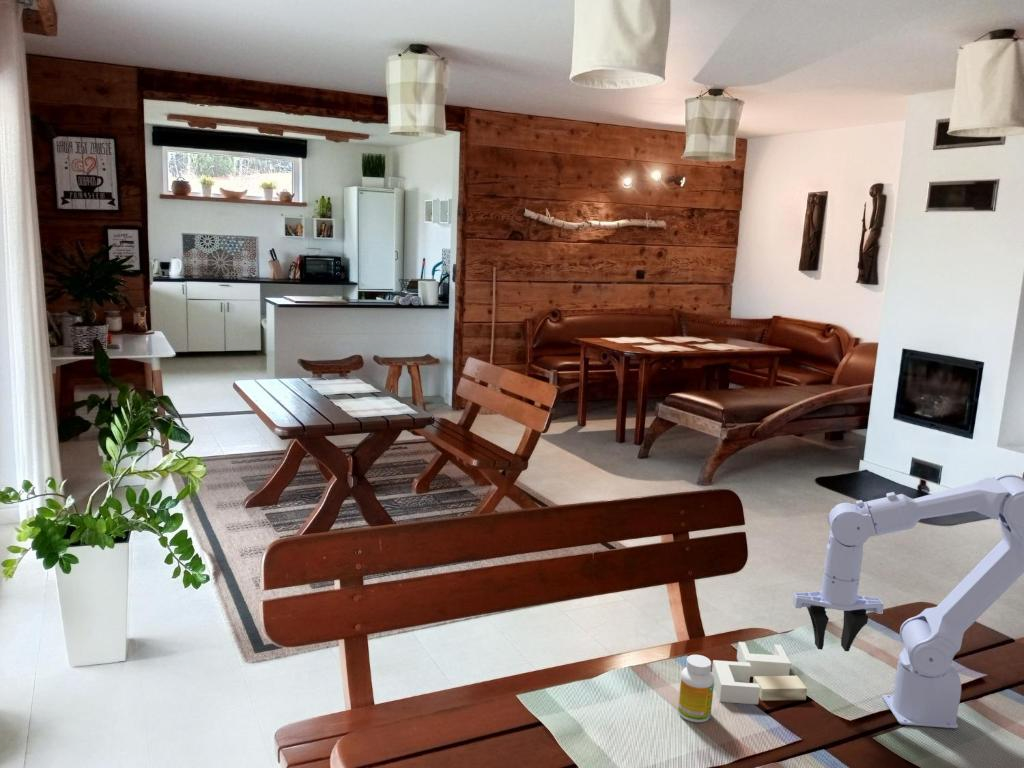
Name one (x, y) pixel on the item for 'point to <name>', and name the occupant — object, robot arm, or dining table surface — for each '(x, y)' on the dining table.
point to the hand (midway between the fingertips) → (831, 647)
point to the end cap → (734, 682)
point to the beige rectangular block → (780, 688)
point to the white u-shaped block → (765, 661)
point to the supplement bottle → (696, 689)
